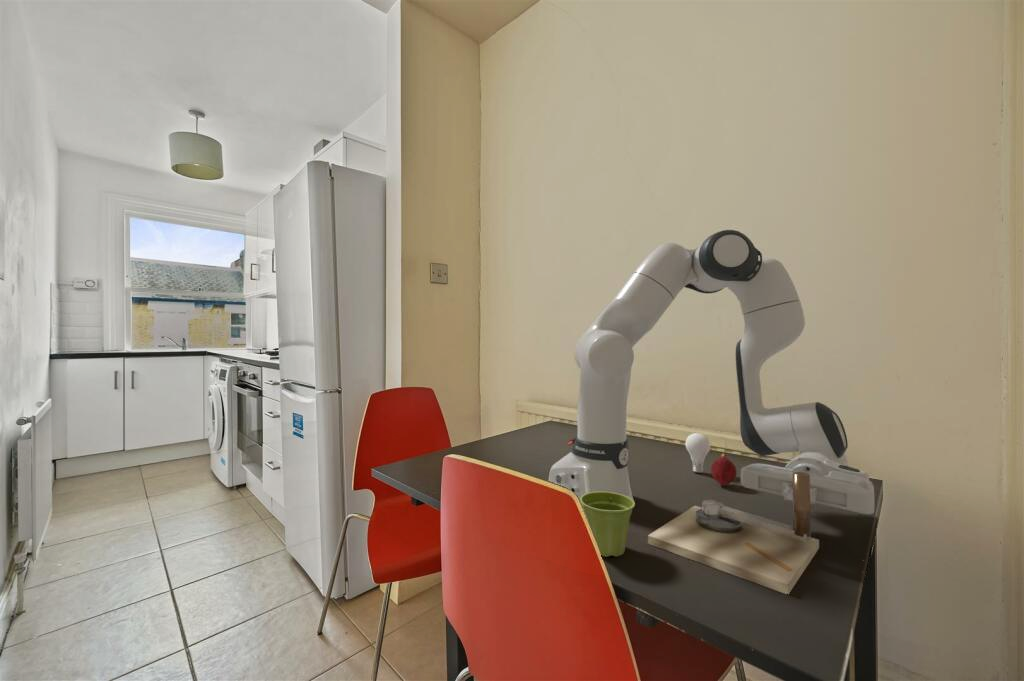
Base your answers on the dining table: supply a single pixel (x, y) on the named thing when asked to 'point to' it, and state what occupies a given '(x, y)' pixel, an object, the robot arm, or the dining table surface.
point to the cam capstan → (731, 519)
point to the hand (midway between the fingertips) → (793, 497)
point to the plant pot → (608, 520)
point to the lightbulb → (697, 450)
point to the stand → (738, 550)
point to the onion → (723, 470)
